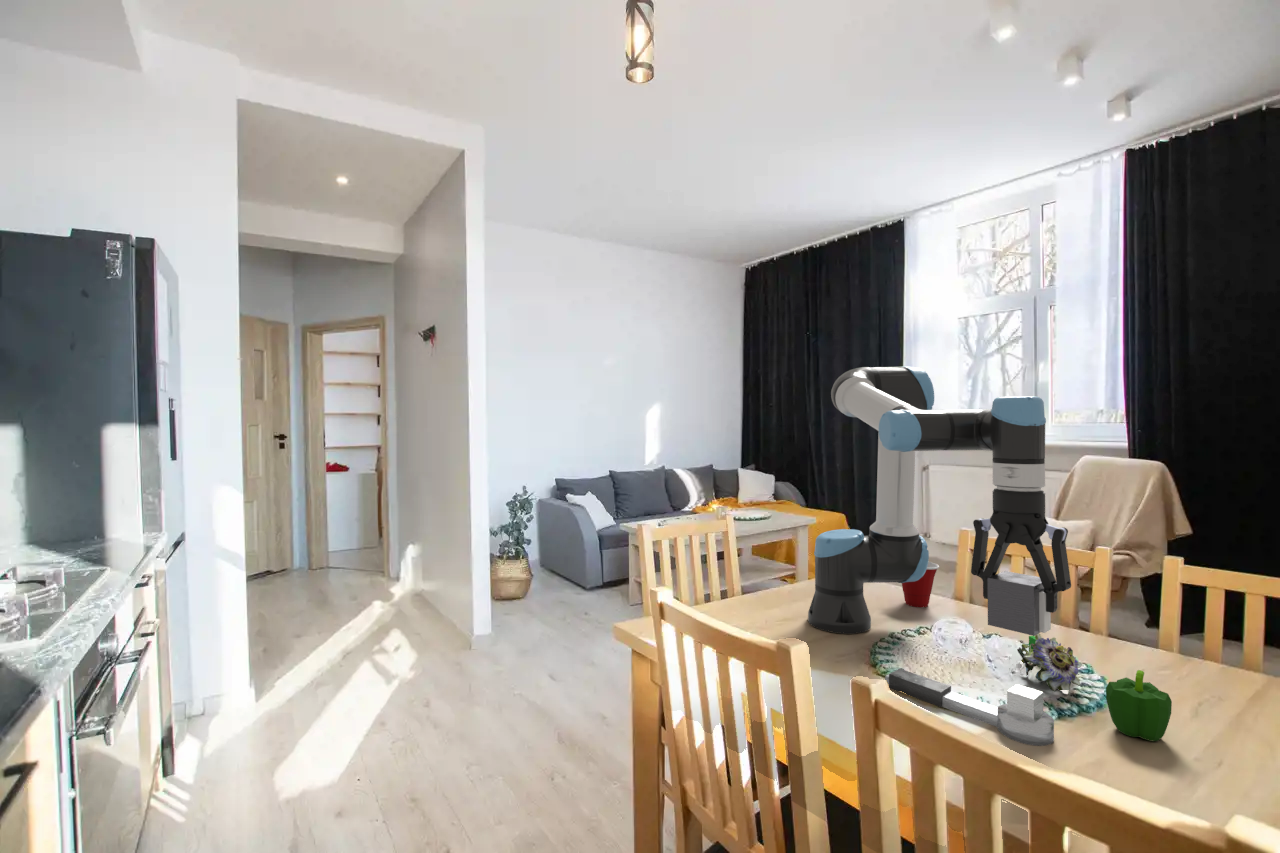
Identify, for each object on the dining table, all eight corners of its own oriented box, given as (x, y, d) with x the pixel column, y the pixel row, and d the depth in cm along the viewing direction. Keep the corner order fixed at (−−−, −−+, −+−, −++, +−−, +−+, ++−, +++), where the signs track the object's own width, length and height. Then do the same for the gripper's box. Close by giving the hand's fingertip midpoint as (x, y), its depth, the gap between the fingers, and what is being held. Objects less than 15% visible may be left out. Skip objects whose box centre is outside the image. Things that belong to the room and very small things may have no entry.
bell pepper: (1153, 752, 96) (1153, 689, 95) (1096, 727, 103) (1096, 669, 103) (1183, 740, 99) (1183, 679, 99) (1125, 717, 107) (1126, 660, 106)
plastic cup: (946, 610, 164) (946, 566, 164) (906, 610, 164) (906, 566, 164) (928, 598, 175) (928, 556, 174) (890, 598, 175) (890, 556, 175)
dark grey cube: (987, 624, 103) (987, 577, 103) (1005, 616, 108) (1004, 571, 108) (1034, 635, 98) (1034, 586, 98) (1050, 626, 102) (1050, 578, 102)
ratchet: (878, 689, 118) (878, 653, 118) (900, 677, 123) (900, 643, 123) (1043, 751, 96) (1043, 707, 96) (1061, 734, 101) (1061, 692, 101)
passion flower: (1063, 721, 116) (1052, 682, 111) (1008, 688, 125) (995, 650, 121) (1098, 680, 119) (1088, 640, 114) (1041, 651, 128) (1030, 613, 123)
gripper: (947, 485, 108) (948, 614, 108) (1081, 495, 92) (1081, 646, 92) (966, 482, 113) (967, 606, 113) (1097, 491, 97) (1097, 635, 97)
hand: (1018, 624), depth 103 cm, fingers closed on dark grey cube, 7 cm apart
